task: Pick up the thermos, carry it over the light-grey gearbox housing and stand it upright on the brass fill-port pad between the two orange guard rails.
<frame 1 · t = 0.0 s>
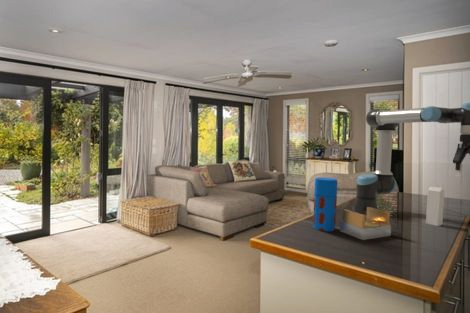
hand: (466, 176, 157), 28 cm above the kitchen island, fingers open, 13 cm apart
milk: (433, 224, 171), on the kitchen island
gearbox: (365, 233, 150), on the kitchen island
thermos: (323, 228, 157), on the kitchen island
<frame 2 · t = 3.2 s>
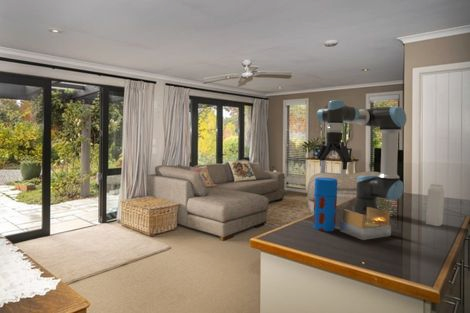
hand: (332, 174, 156), 27 cm above the kitchen island, fingers open, 13 cm apart
nothing on the kitchen island moved.
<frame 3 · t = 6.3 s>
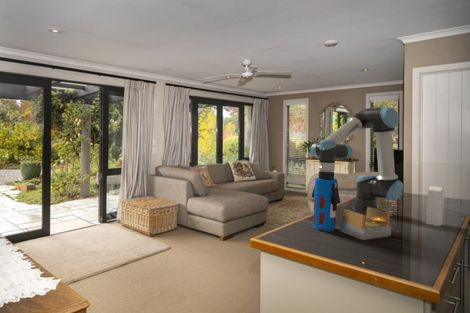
hand: (324, 214, 157), 7 cm above the kitchen island, fingers closed on thermos, 11 cm apart
thermos: (323, 228, 157), on the kitchen island, touching gripper
everything else where it was.
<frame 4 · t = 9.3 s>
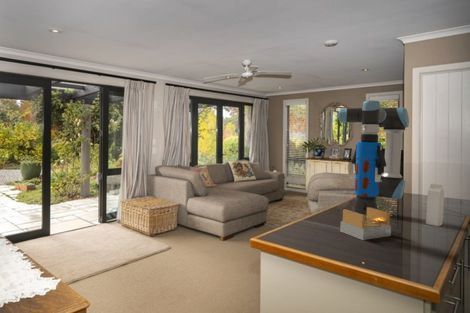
hand: (367, 180, 149), 26 cm above the kitchen island, fingers closed on thermos, 11 cm apart
thermos: (366, 195, 149), point 19 cm above the kitchen island, touching gripper
everything else where it was.
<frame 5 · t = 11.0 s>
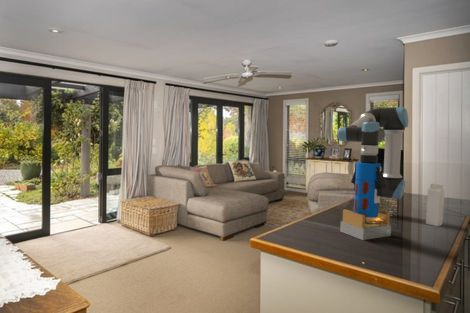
hand: (366, 200, 149), 16 cm above the kitchen island, fingers closed on thermos, 11 cm apart
thermos: (365, 215, 150), point 9 cm above the kitchen island, touching gripper
everything else where it was.
when the fingers open (14 cm above the kitchen island, at t = 12.4 s): thermos drops 2 cm, resting on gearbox.
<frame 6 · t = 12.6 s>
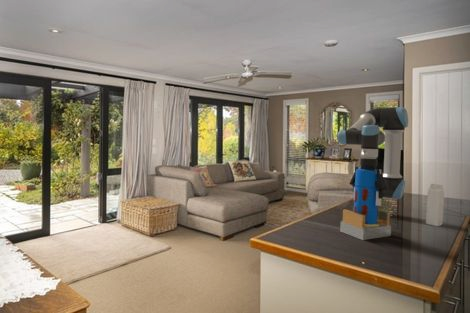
hand: (366, 202, 149), 15 cm above the kitchen island, fingers open, 13 cm apart
thermos: (365, 221, 150), point 6 cm above the kitchen island, touching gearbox
everything else where it was.
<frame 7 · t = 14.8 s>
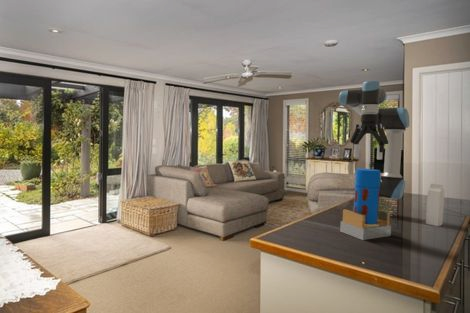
hand: (367, 158, 151), 36 cm above the kitchen island, fingers open, 13 cm apart
nothing on the kitchen island moved.
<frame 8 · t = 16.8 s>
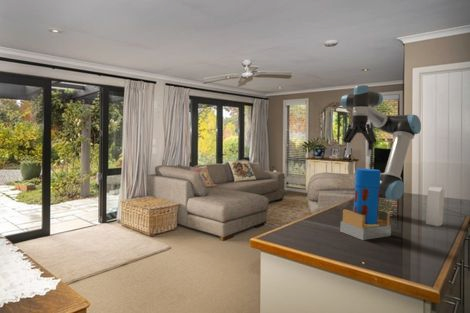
hand: (358, 155, 167), 37 cm above the kitchen island, fingers open, 13 cm apart
nothing on the kitchen island moved.
at the end: thermos inside the target area on the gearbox (0.1 cm from its centre), point 5.6 cm above the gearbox's base; thermos tilted 0°; the gripper is holding nothing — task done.
